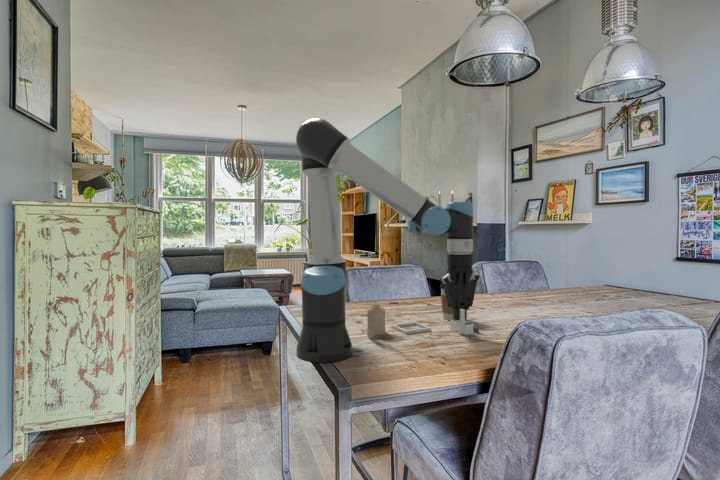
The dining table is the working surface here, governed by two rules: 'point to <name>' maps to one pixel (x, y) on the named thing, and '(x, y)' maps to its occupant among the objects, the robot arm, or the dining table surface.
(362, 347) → the dining table surface
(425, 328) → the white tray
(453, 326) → the knob
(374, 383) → the dining table surface
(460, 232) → the robot arm
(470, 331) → the knob
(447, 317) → the coffee cup
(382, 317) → the beige bottle
